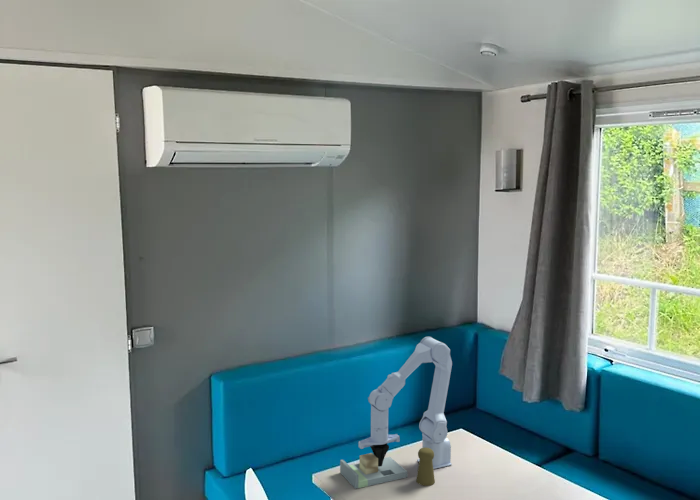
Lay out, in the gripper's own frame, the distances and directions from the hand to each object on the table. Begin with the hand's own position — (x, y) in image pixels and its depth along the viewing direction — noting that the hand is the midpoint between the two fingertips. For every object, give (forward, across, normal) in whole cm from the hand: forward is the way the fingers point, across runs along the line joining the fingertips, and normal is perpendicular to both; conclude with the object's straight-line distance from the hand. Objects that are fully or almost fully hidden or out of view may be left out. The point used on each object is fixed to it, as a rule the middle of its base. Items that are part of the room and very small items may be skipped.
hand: (379, 465), depth 206 cm
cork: (+3, -11, +11) cm, 16 cm away
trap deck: (+3, +2, 0) cm, 3 cm away
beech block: (+1, +4, 0) cm, 4 cm away
